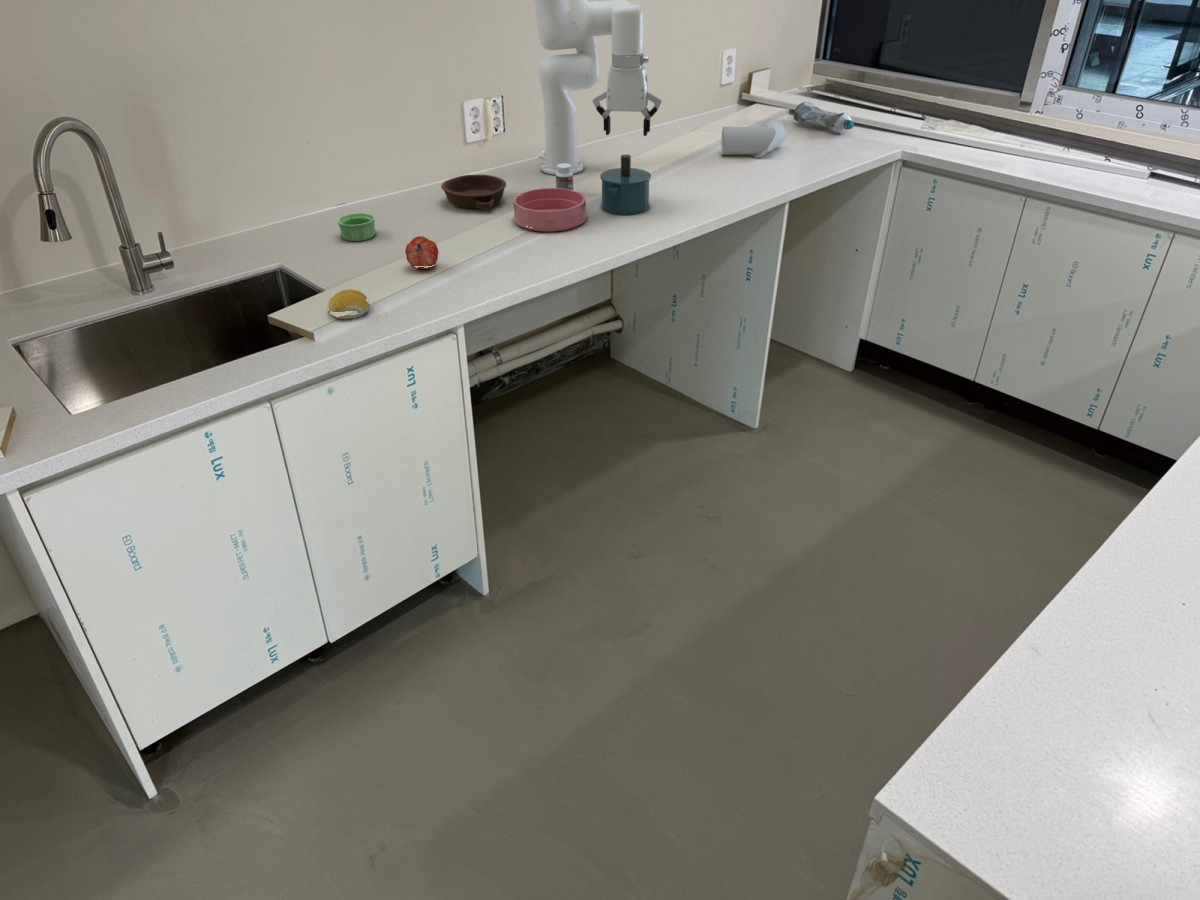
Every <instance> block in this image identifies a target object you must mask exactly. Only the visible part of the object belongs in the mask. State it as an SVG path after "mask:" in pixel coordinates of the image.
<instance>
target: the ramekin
mask: <svg viewBox="0 0 1200 900" xmlns="http://www.w3.org/2000/svg"><path fill="white" fill-rule="evenodd" d="M375 220H376V217H375V216H374V215H373V214H372V213H369V212H368V213H367V212H353V213H347V214H343V215H342V216H340V217H338V219H337V225H338V227H339V230H340V234H341V237H342V238H343V239H344V240H346V241H348V242H362V241H367V240H370V239H372V238H373V237H374V236H375V235H376V225H375Z"/></svg>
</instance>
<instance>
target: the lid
mask: <svg viewBox="0 0 1200 900" xmlns="http://www.w3.org/2000/svg"><path fill="white" fill-rule="evenodd" d="M631 166H632V156H631V155H630V154H621V155H620V167H617V168H610V169H607V170H604V171H602V172H601V173H600V175H599V178H600V180H601V181H602V180H603V181H604V182H607V183H610V184H616V185H635V184H641V183H644V182H647V181H649V182H650V181H651V179H652V174H651V173H650V172H649V171H647V170H645V169H642V168H635V167H631Z"/></svg>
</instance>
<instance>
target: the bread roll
mask: <svg viewBox="0 0 1200 900" xmlns="http://www.w3.org/2000/svg"><path fill="white" fill-rule="evenodd" d="M366 299H368V297H367V295H366V294H365V293H363V292H362V291H360V290H357V289H353V288H352V289H351V288H350V289H343V290H340V291H338V292H337V293H335V294H334V295H333V296H331V297H330V298H329V300H328V303H327V309H328V308H329V310H330V311H332V312H345V311H357V313H358V314H355V315H345V316H339V317H338V318H337V317H336V318H335V319H340V320H349V319H357V318H360V317H363V316H364V315H365V314H366V313H368V312H369V308H370V304H369V301H368V302H367V301H366ZM368 307H369V308H368ZM330 316H332V317H333V315H332V314H330Z"/></svg>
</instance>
